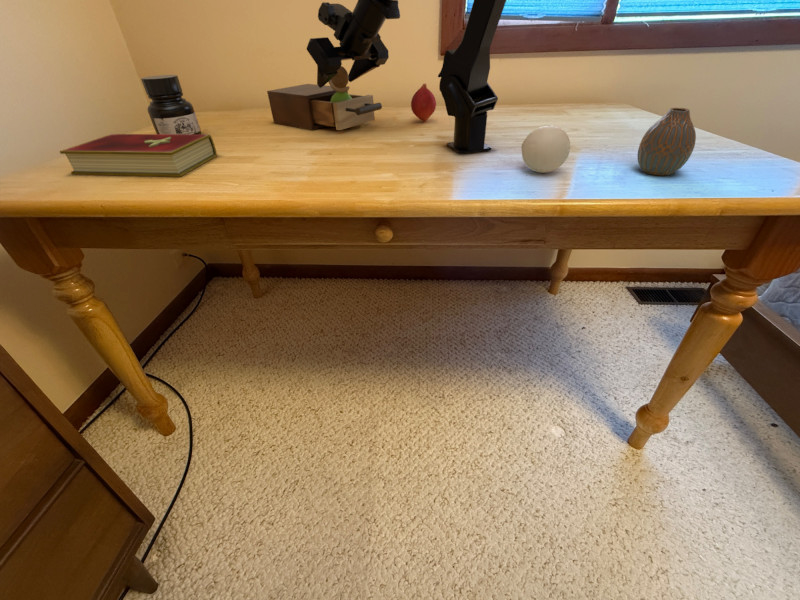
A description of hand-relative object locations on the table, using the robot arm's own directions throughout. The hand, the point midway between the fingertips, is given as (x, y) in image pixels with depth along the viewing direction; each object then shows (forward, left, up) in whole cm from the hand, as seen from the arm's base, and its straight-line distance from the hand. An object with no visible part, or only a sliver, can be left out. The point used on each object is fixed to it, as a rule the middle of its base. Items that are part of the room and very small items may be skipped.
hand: (334, 83), depth 85 cm
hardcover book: (-15, +38, -9) cm, 42 cm away
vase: (-52, -41, -9) cm, 67 cm away
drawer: (-1, -1, -8) cm, 8 cm away
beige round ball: (-45, -25, -9) cm, 52 cm away
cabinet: (+8, +6, -9) cm, 13 cm away
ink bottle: (+4, +35, -9) cm, 37 cm away
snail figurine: (-2, 0, -7) cm, 7 cm away
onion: (-4, -20, -9) cm, 22 cm away
